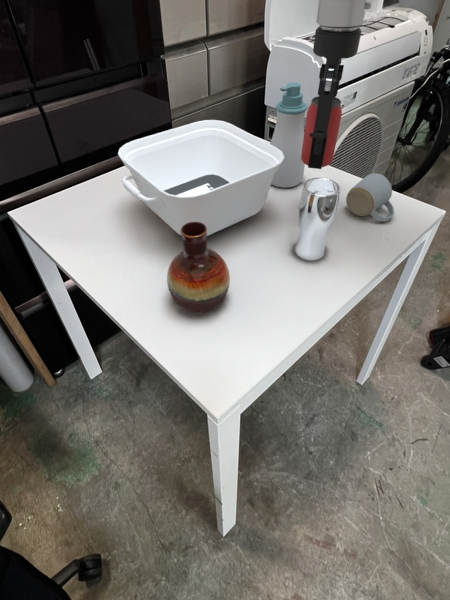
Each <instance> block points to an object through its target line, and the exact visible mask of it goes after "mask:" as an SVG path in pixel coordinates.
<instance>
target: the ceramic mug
mask: <svg viewBox="0 0 450 600" xmlns="http://www.w3.org/2000/svg"><path fill="white" fill-rule="evenodd" d="M392 187H393V186H392V184H391V182H390V180H389V179H388V178H387V177H386V176H384V175H383V174H381V173H376V172H373V173H369V174H367V175H365V176H364V178H362V179H361V180H359V182H358V183H356V184H355V185H354V186H353V187H352V188H351V189H350V190H349V191H348V192H347V195H346V198H345V203H346V206H347V208H348V210H349V211H350V212H351V213H352V214H354V215H356V216H359V217H366V216H368V215H370V216H371V217H372V218H373V219H375V220H376V221H378V222H380V223H385V222H388V221H389V220H391V219H392V218H393V217H394V215H395V208H394V205H393V204H392V202H391V200H390V199H391V197H392V195H393V188H392ZM382 206H384V207H386V210H387V211H388V214H389V216H382V215H381V214H379V213H378V212H377V210H378V209H379V208H381V207H382Z"/></svg>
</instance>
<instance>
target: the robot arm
mask: <svg viewBox="0 0 450 600" xmlns="http://www.w3.org/2000/svg"><path fill="white" fill-rule="evenodd" d="M371 6H372V2H371V1H368V0H318V7H317V15H316V23H317V24H318V26H317V28H315V31H314V40H313V46H312V47H313V49H312V51H313V54H314V55H315V56H317V57H319V58H325V63H321V67H320V68H319V74H318V75H319V76H318V77H319V83H318V88H317V89H318V90H317V95H318V96H319V101H318V107H317V114H316V120H315V126H314V132H313V133H310V135H309V136H310V137H313V138H312V145H311V151H310V158H309V164H308V165H307V168H308V169H317V170H322V168H323V167H322V163H323V157H324V152H325V146H326V141H327V135H328V133H327V131H328V125H329V120H330V115H331V109H332V104H333V99H334V97H336V98H337V95H338V91H339V86H340V81H341V80H342V78H343V73H344V67H345V65H344V64H342V59H350V58H354V56H355V55H357V54H358V51H359V45H360V41H361V37H362V29H361V28H360V27H361V26H362V25H363V24H364V20H365V15H366V11H365V10H369V9H371V8H372V7H371Z"/></svg>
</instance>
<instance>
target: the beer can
mask: <svg viewBox="0 0 450 600" xmlns="http://www.w3.org/2000/svg"><path fill="white" fill-rule="evenodd" d="M318 101H319V95H318V96H315V97H313V98H311V100H310V102H311V103H310V104H309V105H308V108H307V110H306V118H305V123H304V139H303V146H302V153H301V160H302V161H303V163H304V164H305V166H308V164H309V158H310V151H311V145H312V138H313V137H310V136H309V135H310V133H313V132H314V126H315V120H316V114H317V107H318ZM342 116H343V110H342V100H341V99H340V98H338V97H337V96H336V97H334V99H333V104H332V109H331V115H330V120H329V125H328V131H327V133H328V135H327V141H326V146H325V152H324V157H323V163H322V168H324V167H328V166H329V165H331V164H332V162H333V160H334V155H335V149H336V145H337V140H338V136H339V131H340V126H341V122H342Z"/></svg>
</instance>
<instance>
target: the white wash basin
mask: <svg viewBox="0 0 450 600" xmlns="http://www.w3.org/2000/svg"><path fill="white" fill-rule="evenodd" d="M117 155H118V157H119V158H120V160H121V162H122V164H123V165H124V167H125V168H127V170H129V172H130V174H131V175H125V176H123V177H122V180H121V182H122V185H123V187H124V188H125V190H126V191H127V192H128V193H129V194H130V195H131V196H132V197H134V198H135V199H137V200H140V201H142V202H143V203H144V204H145V205H146V206H147V207H148V208H149V209H150V210H151V211H152V212H154V214H156V215H157V217H159V219H161V220H162V221H163V222H165V224H167V225H168V226H169V227H170V228H171V229H172V230H173V231H174V232H176V234H178V235H179V236H181V237H182V235H181V228H182V226H183V225H185V224H186V223H189V222H200V223H203V224H204V225H205V226H206V227H207V237H208V236H211V235H213V234H215V233H218V232H220V231H222V230H224V229H227V228H229V227H231V226H233V225H236V224H238V223H241V222H242V221H245V220H246V219H250V217H253V216H254V215H257V213H259V212H260V211H261V210H262V209H263V207H264V206H265V203H266V200H267V197H268V194H269V191H270V188H271V186H272V184H271V183H272V180H273V177H274V174H275V172H277V171H278V169H279V167H280V165H281V163H282V162H283V160H284V155H283V152H282V151H280V150H279V149H278V148H276V147H275V146H273V145H271V144H270V143H268V142H267V141H265V140H263V139H261V138H259V137H257V136H255V135H253V134H251V133H250V132H248V131H246V130H244V129H241V128H240V127H238V126H236V125H234V124H232V123H230V122H227V121H224V120H217V119H203V120H198V121H195V122H191V123H188V124H184V125H180V126H177V127H174V128H170V129H168V130H167V129H166V130H164V131H161V132H157V133H154V134H151V135H147V136H143V137H141V138H137V139H134V140H131V141H129V142H126V143H125V144H123V145H122V146H121V147H119V149H118V152H117ZM129 180H133V182H134V183H135V185H136V187H135V186H134V185H133V184H132V183H131V182H130V181H129Z"/></svg>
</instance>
